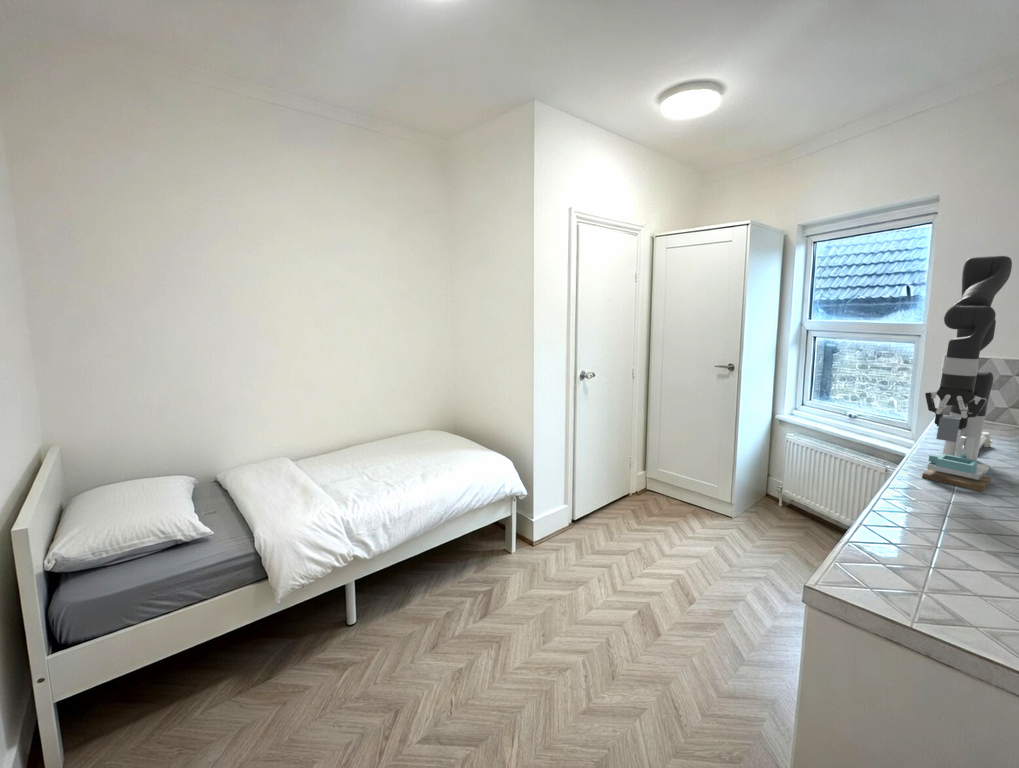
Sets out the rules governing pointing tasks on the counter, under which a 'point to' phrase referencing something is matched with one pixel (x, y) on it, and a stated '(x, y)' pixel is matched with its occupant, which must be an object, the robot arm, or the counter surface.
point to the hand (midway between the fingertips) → (949, 427)
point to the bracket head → (954, 462)
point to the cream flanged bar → (985, 440)
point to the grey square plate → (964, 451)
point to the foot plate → (957, 479)
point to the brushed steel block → (949, 428)
